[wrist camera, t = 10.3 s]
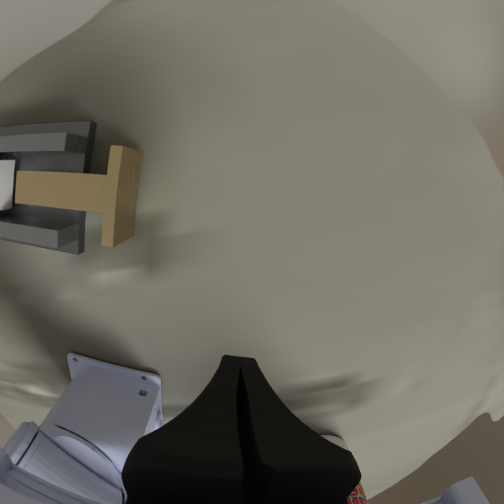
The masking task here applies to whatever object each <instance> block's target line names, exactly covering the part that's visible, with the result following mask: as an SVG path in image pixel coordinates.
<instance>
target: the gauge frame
mask: <svg viewBox="0 0 504 504" xmlns="http://www.w3.org/2000/svg"><path fill="white" fill-rule="evenodd" d="M96 124H97V123H94V122H91V121H82V122H55V123H40V124H28V125H17V126H8V127H0V160H15V167H14V179H13V194H12V208H10V209H6V210H1V211H0V239H2V240H7V241H11V242H16V243H21V244H26V245H31V246H36V247H41V248H46V249H51V250H56V251H61V252H67V253H72V254H77V255H79V254H81V253H83V252H84V238H85V214H86V211H80V210H72V209H63V208H55V207H46V206H37V205H28V204H19V203H15V192H16V177H17V171H21V170H43V171H65V172H83V173H89V170H90V162H91V154H92V147H93V141H94V135H95V129H96Z"/></svg>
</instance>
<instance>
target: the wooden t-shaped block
mask: <svg viewBox="0 0 504 504" xmlns="http://www.w3.org/2000/svg"><path fill="white" fill-rule="evenodd" d="M142 157H143V151H141V150H137V149H133V148H129V147H125V146H115V145H111V148H110V155H109V162H108V170H107V174H98V173H83V172H65V171H43V170H21V171H17V177H16V192H15V203H19V204H28V205H37V206H46V207H55V208H63V209H72V210H80V211H88V212H96V213H103V224H102V246H106V247H112V248H113V247H115V246H117V245H118V244H120V243H122V242H124V241H125V240H127V239H129V238H131V237H132V236H134V226H135V215H136V204H137V195H138V186H139V178H140V171H141V163H142Z"/></svg>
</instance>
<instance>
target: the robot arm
mask: <svg viewBox="0 0 504 504" xmlns="http://www.w3.org/2000/svg"><path fill="white" fill-rule="evenodd" d="M75 358H76V359H77V360H76V359H75ZM67 360H68V365H69V371H70V375H71V380H72V381H71V382H70V384H69V385H68V386H67V388H66V389H65V390H64V392H63V393H62V395H61V396H60V397H59V399H58V400H57V402H56V403H55V405H54V406H53V407H52V409H51V410H50V412H49V413H48V415H47V416H46V418H45V419H44V421H43V422H42V424H41V425H40V426H39V427H38V426H37V425H36V424H35V423H34V422H33V421H31V422H30V423H29V422H23V423H22V424H21V425H20V426H19V427H18V428H17V430H16V431H15V432H14V433H13V435H12V436H11V437H10V439H9V440H8V441H7V443H6V444H5V446H4V447H3V448H1V447H0V504H348V500H347V497H348V496H349V495H350V494H351V493H352V491H353V490H354V489H355V488H356V486H357V485H358V484H359V482H360V480H361V472H360V470H359V467H358V465H357V462H356V460H355V458H354V457H353V455H352V453H351V451H348V450H346V449H344V448H342V447H340V446H338V445H336V444H334V443H332V442H330V441H329V440H327V439H325V438H324V437H322V436H321V435H319V434H317V433H316V432H315V431H313V430H312V429H310V428H309V427H308V426H307V425H305V424H304V423H303V422H302V421H300V420H299V419H298V418H297V417H296V416H295V415H294V414H293V413H292V412H291V411H290V410H289V409H288V408H287V407H286V406H285V405H284V403H283V402H282V401H281V400H280V398H279V397H278V396H277V395H276V393H275V392H274V390H273V389H272V388H271V386H270V385H269V383H268V382H267V380H266V378H265V377H264V375H263V373H262V371H261V370H260V368H259V366H258V364H257V362H256V360H255V359H254V358H247V357H238V356H230V355H224V356H222V360H221V363H220V365H219V367H218V369H217V371H216V373H215V374H214V376H213V378H212V379H211V381H210V382H209V384H208V385H207V386H206V388H205V389H204V390H203V391H202V393H201V394H200V395H199V396H198V397H197V398H196V399H195V401H194V402H193V403H192V404H191V405H189V406H188V407H187V408H186V409H185V410H184V411H183V412H182V413H180V414H179V415H178V416H177V417H175V418H174V419H172V420H171V421H169V422H168V423H166V424H165V425H163V426H162V420H163V414H162V406H161V378H160V376H159V375H157V374H153V373H148V372H143V371H139V370H134V369H130V368H126V367H122V366H118V365H114V364H110V363H106V362H102V361H99V360H95V359H91V358H88V357H85V356H81V355H78V354H75V353H71V352H70V353H69V354H68V355H67ZM143 376H145V377H146V378H144V377H143ZM123 485H124V488H125V489H124V488H122V486H123ZM421 504H489V502H488V501H487V499H486V498H485V496H484V494H483V493H482V491H481V490H480V488H479V487H478V485H477V483H476V482H475V480H474V479H473V477H469V478H466V479H464V480H462V481H460V482H457V483H455V484H453V485H452V486H450V487H449V488H448V489H447V490H446V491H445V492H444V493H443V494H442V495H441V496H440V497H437V498H435V499H432V500H429V501H426V502H424V503H421Z"/></svg>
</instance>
